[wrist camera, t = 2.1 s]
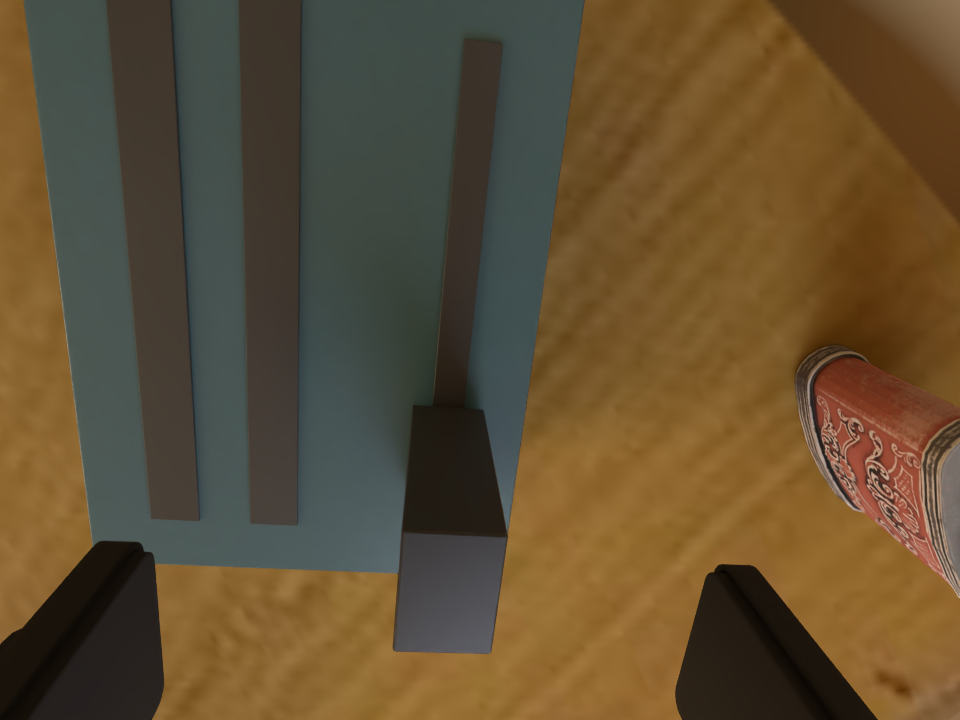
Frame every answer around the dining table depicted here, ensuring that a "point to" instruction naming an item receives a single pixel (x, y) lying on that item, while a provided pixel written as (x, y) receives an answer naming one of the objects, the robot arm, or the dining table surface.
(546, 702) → the dining table surface
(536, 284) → the toaster
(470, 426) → the slider
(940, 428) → the lighter
